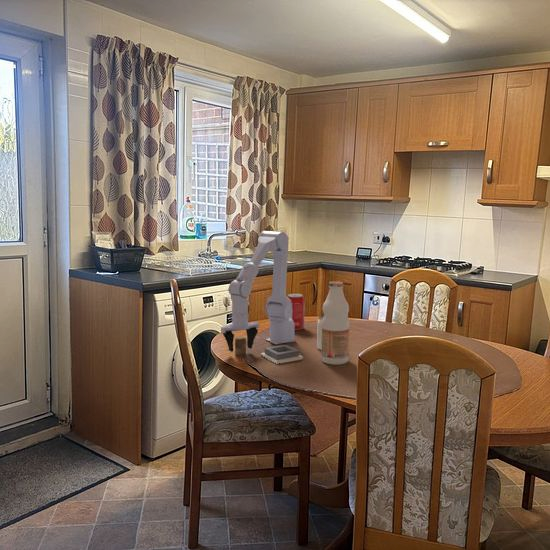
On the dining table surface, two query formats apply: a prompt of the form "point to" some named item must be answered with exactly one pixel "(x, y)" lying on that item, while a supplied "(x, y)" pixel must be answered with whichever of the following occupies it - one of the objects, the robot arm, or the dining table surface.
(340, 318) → the fruit juice
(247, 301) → the robot arm
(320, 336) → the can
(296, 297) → the soda can
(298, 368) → the dining table surface
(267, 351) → the socket block
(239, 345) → the peg
